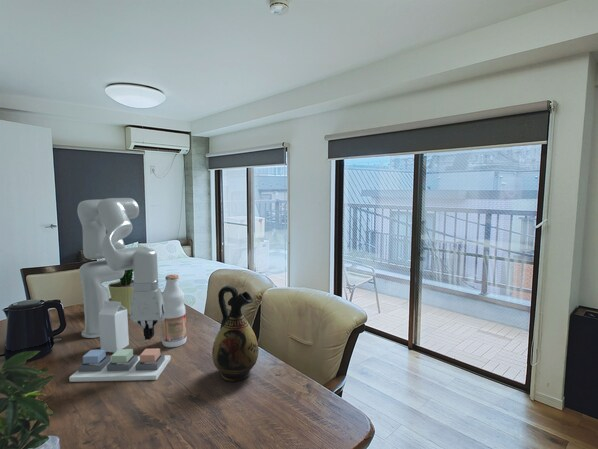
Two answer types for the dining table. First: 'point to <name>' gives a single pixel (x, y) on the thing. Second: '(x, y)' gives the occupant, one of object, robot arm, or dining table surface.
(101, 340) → the milk carton
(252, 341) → the ceramic jug
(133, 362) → the button panel
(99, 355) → the slate-blue button
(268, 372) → the dining table surface
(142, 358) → the terracotta button
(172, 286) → the fruit juice
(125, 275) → the potted cactus
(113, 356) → the sage-green button
